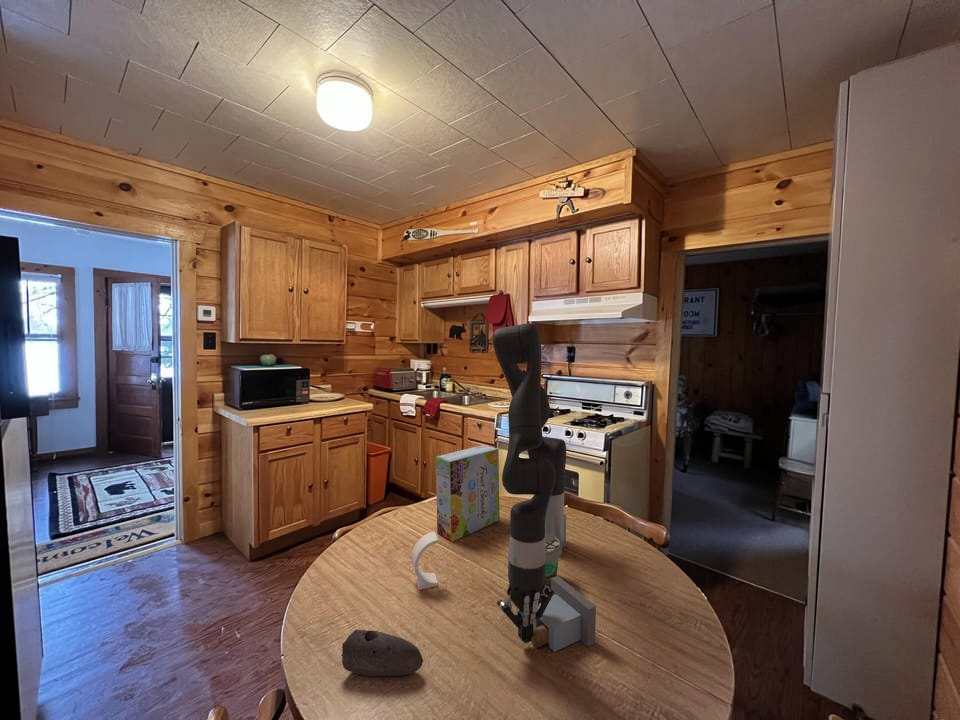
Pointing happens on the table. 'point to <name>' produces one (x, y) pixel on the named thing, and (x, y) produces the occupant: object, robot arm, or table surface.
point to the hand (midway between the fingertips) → (525, 639)
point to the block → (560, 623)
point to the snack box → (467, 491)
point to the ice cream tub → (552, 559)
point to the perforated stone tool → (379, 654)
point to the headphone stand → (422, 577)
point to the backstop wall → (578, 608)
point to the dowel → (540, 636)
